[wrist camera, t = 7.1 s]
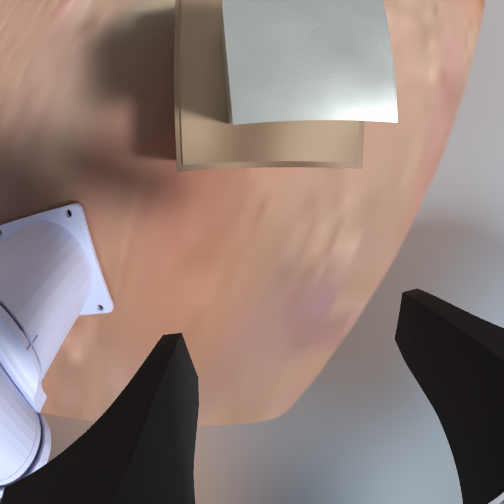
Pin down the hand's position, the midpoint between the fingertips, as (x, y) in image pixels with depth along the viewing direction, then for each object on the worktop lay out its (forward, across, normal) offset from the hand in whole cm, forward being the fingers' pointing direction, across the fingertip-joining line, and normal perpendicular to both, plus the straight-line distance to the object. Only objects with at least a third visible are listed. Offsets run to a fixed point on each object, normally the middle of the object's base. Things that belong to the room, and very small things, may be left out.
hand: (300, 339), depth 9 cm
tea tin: (+7, -1, -9) cm, 11 cm away
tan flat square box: (+11, -1, -9) cm, 14 cm away
